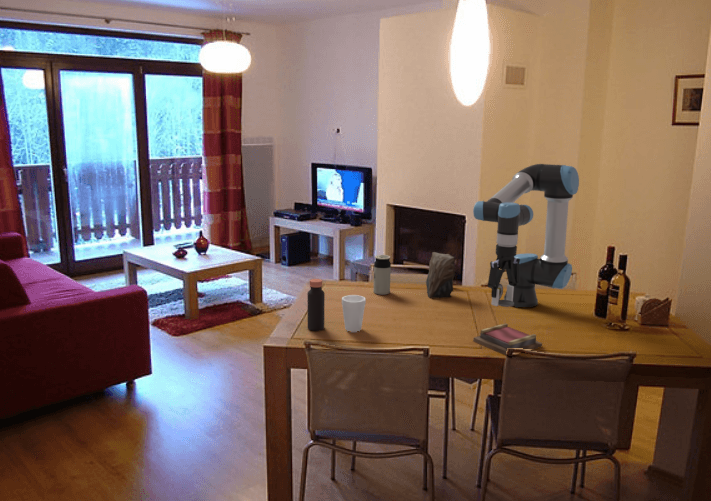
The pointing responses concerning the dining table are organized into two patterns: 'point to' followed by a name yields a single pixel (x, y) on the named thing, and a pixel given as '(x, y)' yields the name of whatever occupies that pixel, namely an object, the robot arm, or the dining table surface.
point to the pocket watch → (503, 302)
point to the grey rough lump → (440, 275)
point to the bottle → (316, 305)
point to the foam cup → (353, 312)
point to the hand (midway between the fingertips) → (502, 303)
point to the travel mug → (382, 274)
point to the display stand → (506, 339)
